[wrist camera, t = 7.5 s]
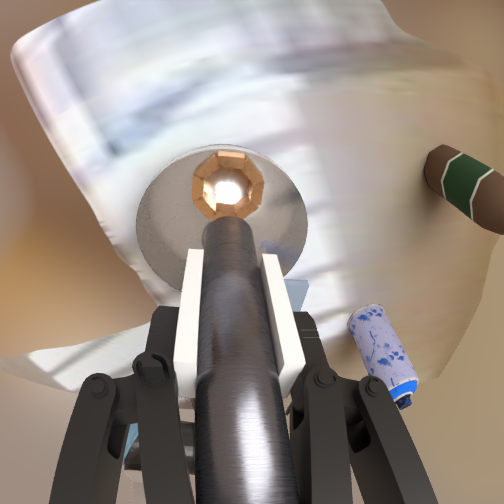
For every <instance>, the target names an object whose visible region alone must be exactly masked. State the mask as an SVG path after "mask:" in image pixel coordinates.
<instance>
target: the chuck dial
mask: <svg viewBox="0 0 504 504" xmlns="http://www.w3.org/2000/svg"><path fill="white" fill-rule="evenodd" d="M223 216H236V217H239V218H241V219H243V220H245V221H246V222H247V223H248V224H249V225H250V227H251V229H252V232H253V237H254V243H255V248H256V254H257V259H258V265H259V267H260V262H261V257H262V254H276V255H277V258H278V261H279V265H280V268H281V272H282V276H283V277H284V276H285V275H286V274H287V273H288V272H289V271H290V270H291V269H292V268H293V266H294V265H295V263H296V262H297V260H298V259H299V257H300V255H301V253H302V251H303V248H304V245H305V242H306V237H307V228H308V221H307V213H306V209H305V205H304V202H303V200H302V197H301V195H300V193H299V191H298V190H297V188H296V187H295V185H294V183H293V182H292V180H291V179H290V177H289V176H288V175H287V174H286V173H285V171H284V170H283V169H282V168H281V167H279V166H278V165H277V164H276V163H275V162H273V161H272V160H270V159H269V158H267V157H266V156H264V155H262V154H260V153H257V152H255V151H252V150H249V149H246V148H243V147H237V146H229V145H216V146H207V147H202V148H199V149H195V150H192V151H190V152H187V153H185V154H182V155H181V156H179V157H177V158H176V159H174V160H172V161H171V162H170V163H169V164H167V165H166V166H165V167H164V168H163V169H162V170H161V171H160V172H159V173H158V174H157V175H156V176H155V178H154V179H153V181H152V182H151V184H150V185H149V187H148V188H147V190H146V191H145V193H144V195H143V197H142V200H141V202H140V205H139V209H138V213H137V220H136V232H137V238H138V243H139V246H140V249H141V251H142V254H143V256H144V258H145V260H146V261H147V263H148V264H149V266H150V267H151V268H152V270H153V271H154V272H155V273H156V274H157V275H158V276H159V277H160V278H161V279H162V280H163V281H165V282H166V283H168V284H169V285H170V286H172V287H174V288H175V289H177V290H179V291H181V292H182V288H183V281H184V274H185V268H186V262H187V256H188V250H189V249H201V250H204V242H205V233H206V230H207V228H208V226H209V225H210V224H211V223H212V222H213V221H214V220H215V219H217V218H220V217H223Z"/></svg>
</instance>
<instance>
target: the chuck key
mask: <svg viewBox="0 0 504 504" xmlns="http://www.w3.org/2000/svg"><path fill="white" fill-rule="evenodd" d="M195 487H196V504H300V499H299V493H298V487H297V481H296V475H295V469H294V463H293V458H292V452H291V446H290V440H289V434H288V429H287V423H286V417H285V411H284V406H283V400H282V394H281V389H280V383H279V377H278V371H277V366H276V360H275V354H274V349H273V343H272V338H271V332H270V326H269V321H268V315H267V310H266V304H265V298H264V293H263V287H262V282H261V276H260V271H259V265H258V259H257V254H256V248H255V243H254V237H253V232H252V229H251V227H250V225H249V224H248V223H247V222H246V221H245V220H243V219H241V218H239V217H236V216H223V217H220V218H217V219H215V220H214V221H213V222H212V223H211V224H210V225H209V226H208V228H207V230H206V233H205V242H204V256H203V272H202V285H201V299H200V315H199V333H198V356H197V378H196V382H195Z"/></svg>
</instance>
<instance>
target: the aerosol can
mask: <svg viewBox="0 0 504 504" xmlns="http://www.w3.org/2000/svg"><path fill="white" fill-rule="evenodd" d="M348 328H349V329H350V331H351V332H352V335H353V337H354V340H355V342H356V344H357V347H358V349H359V352H360V354H361V357H362V359H363V362H364V364H365V367H366V369H367V372H368V374H369V376H372V375H373V376H376V377H379V378H380V379H381V380H383V382H384V383H385V384H386V386H387V388H388V390H389V392H390V394H391V396H392V398H393V400H394V402H395V404H396V405H398V407H399V409H400V410H401V409H404V408H406V407H408V406H410V405H411V400H410V397H411V396H412V395H413V393H414V392H415V390H416V388H417V384H418V382H419V381H418V377H417V374H416V372H415V370H414V368H413V366H412V364H411V362H410V360H409V358H408V356H407V354H406V352H405V350H404V348H403V346H402V344H401V342H400V340H399V338H398V336H397V334H396V332H395V331H394V329H393V327H392V325H391V323H390V321H389V319H388V318H387V316H386V314H385V310H384V308H383V307H382V306H381V305H379V304H369V305H366V306H364V307H362V308H360V309H358V310H357V311H356V312H355V313H353V314H352V316H351V317H350V319H349V321H348Z"/></svg>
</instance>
